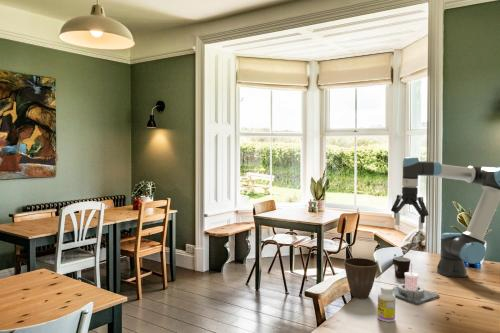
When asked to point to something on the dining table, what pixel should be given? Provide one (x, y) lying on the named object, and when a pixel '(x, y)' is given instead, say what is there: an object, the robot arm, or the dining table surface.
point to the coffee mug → (401, 266)
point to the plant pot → (360, 276)
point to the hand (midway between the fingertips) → (408, 227)
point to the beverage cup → (411, 280)
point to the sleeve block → (413, 294)
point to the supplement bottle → (386, 304)
